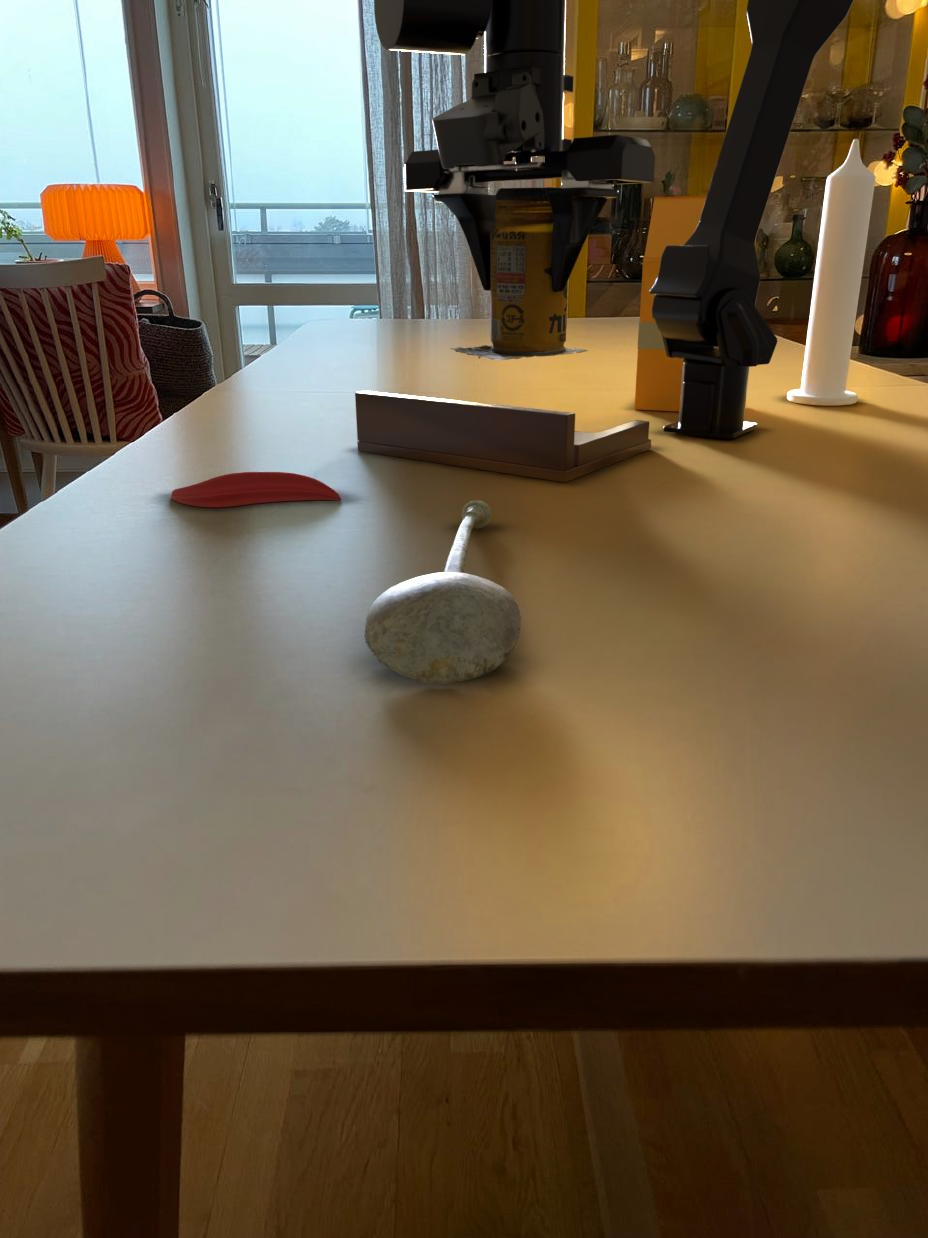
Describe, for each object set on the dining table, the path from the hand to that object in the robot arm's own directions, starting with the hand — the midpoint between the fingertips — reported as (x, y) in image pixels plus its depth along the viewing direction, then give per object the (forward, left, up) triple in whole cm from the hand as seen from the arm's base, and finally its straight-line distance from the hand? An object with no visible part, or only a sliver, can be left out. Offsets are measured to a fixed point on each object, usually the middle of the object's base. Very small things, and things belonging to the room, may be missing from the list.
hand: (522, 290), depth 72 cm
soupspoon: (+29, +15, -13) cm, 35 cm away
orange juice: (-29, +1, -13) cm, 31 cm away
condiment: (0, -1, -5) cm, 5 cm away
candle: (-40, +12, -13) cm, 44 cm away
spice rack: (0, -2, -13) cm, 13 cm away
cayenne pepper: (+23, -7, -13) cm, 27 cm away
